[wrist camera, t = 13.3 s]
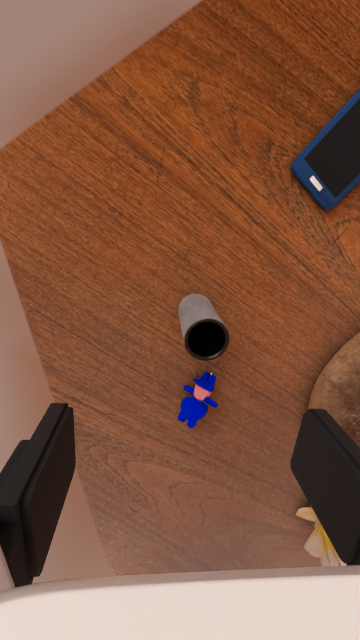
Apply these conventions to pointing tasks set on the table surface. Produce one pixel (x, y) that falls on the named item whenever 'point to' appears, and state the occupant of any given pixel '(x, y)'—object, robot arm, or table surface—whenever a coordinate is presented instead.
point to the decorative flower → (319, 540)
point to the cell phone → (332, 157)
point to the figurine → (197, 400)
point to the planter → (202, 328)
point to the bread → (341, 388)
